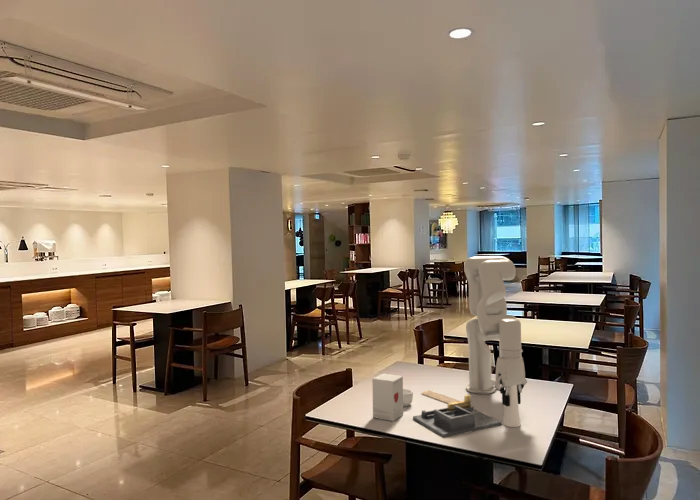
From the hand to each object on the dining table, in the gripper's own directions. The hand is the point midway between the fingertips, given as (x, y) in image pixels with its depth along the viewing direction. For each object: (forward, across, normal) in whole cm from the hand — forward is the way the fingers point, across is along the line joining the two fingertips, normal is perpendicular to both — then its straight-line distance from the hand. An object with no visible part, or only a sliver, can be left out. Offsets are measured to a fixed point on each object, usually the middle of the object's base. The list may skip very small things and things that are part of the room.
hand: (511, 403), depth 175 cm
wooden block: (+6, +9, -19) cm, 21 cm away
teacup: (+8, +23, -38) cm, 45 cm away
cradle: (+7, +16, -11) cm, 21 cm away
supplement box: (+8, +35, -28) cm, 45 cm away
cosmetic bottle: (+8, 0, 0) cm, 8 cm away
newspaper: (+8, +4, -34) cm, 35 cm away
